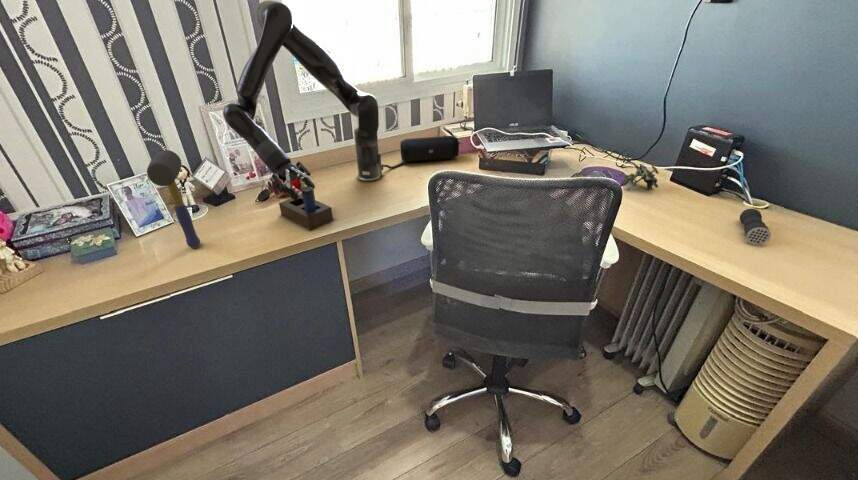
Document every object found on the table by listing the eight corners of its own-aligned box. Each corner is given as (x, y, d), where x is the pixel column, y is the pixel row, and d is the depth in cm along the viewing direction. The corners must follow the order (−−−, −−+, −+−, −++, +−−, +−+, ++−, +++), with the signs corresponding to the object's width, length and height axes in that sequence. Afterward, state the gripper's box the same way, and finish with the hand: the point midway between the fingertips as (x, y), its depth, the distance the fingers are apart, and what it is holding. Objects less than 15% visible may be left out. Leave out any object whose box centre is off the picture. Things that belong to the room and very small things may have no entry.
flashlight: (735, 220, 135) (743, 205, 131) (755, 223, 133) (763, 208, 129) (743, 242, 124) (751, 226, 120) (765, 246, 122) (774, 230, 118)
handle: (314, 217, 148) (308, 185, 141) (320, 220, 146) (315, 188, 139) (304, 221, 146) (298, 189, 139) (311, 224, 144) (305, 192, 137)
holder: (304, 206, 156) (301, 193, 153) (333, 220, 146) (331, 207, 143) (281, 215, 150) (278, 202, 147) (310, 230, 140) (307, 217, 137)
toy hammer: (330, 201, 159) (327, 185, 155) (303, 211, 152) (300, 195, 149) (297, 185, 172) (295, 170, 169) (272, 194, 166) (269, 179, 162)
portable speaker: (402, 165, 187) (402, 143, 181) (400, 158, 194) (399, 136, 189) (458, 161, 188) (459, 139, 182) (454, 154, 196) (455, 132, 190)
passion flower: (643, 202, 160) (668, 184, 149) (619, 200, 157) (643, 182, 146) (635, 177, 164) (660, 158, 153) (612, 175, 161) (635, 155, 150)
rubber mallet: (204, 254, 130) (169, 160, 113) (179, 258, 129) (139, 163, 111) (209, 235, 140) (178, 146, 122) (186, 239, 139) (150, 149, 121)
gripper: (261, 155, 131) (296, 195, 133) (291, 142, 141) (323, 180, 143) (253, 169, 136) (287, 208, 138) (282, 156, 146) (313, 191, 148)
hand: (305, 193), depth 141 cm, fingers open, 8 cm apart
